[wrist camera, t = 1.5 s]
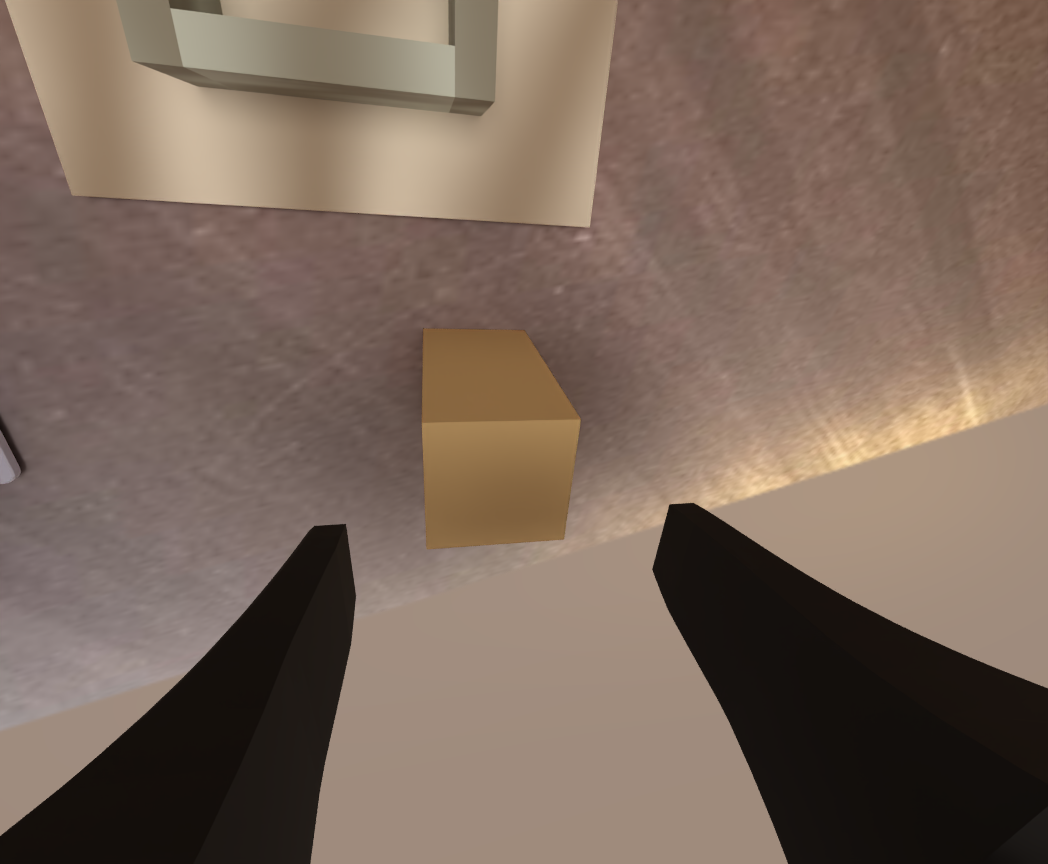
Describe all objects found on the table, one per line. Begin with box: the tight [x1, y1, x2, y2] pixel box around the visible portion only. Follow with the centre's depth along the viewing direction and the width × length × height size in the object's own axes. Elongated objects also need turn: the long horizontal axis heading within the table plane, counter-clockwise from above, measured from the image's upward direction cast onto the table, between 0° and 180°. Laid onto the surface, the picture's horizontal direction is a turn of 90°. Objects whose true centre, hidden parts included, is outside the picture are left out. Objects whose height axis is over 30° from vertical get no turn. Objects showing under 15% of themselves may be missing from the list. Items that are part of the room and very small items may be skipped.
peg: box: [422, 328, 581, 549], centre depth 16 cm, size 4×4×8 cm
